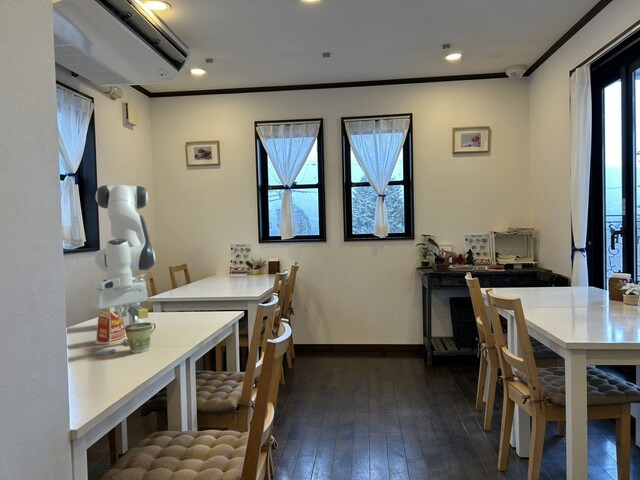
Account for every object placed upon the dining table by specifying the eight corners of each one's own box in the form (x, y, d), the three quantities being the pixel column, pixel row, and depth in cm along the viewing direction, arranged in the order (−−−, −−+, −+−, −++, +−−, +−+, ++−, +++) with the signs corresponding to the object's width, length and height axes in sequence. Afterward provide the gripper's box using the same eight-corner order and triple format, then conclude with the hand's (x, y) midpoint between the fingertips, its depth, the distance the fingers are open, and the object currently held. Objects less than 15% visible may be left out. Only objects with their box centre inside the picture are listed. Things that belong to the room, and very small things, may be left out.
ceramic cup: (138, 355, 171) (136, 329, 170) (120, 352, 175) (118, 327, 175) (165, 346, 182) (163, 321, 181) (148, 344, 187) (146, 319, 186)
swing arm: (126, 311, 191) (125, 304, 191) (137, 310, 193) (136, 302, 193) (138, 319, 174) (137, 310, 174) (149, 317, 176) (149, 309, 176)
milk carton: (95, 343, 192) (92, 296, 191) (112, 337, 201) (109, 292, 200) (112, 344, 189) (108, 296, 188) (128, 338, 198) (125, 293, 197)
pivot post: (123, 342, 192) (120, 312, 191) (142, 338, 196) (140, 309, 196) (127, 346, 185) (125, 315, 185) (147, 342, 190) (145, 312, 189)
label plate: (95, 354, 175) (95, 351, 175) (102, 351, 179) (102, 348, 179) (109, 354, 174) (109, 351, 174) (116, 351, 178) (115, 348, 178)
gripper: (141, 277, 186) (143, 310, 187) (89, 284, 170) (92, 321, 171) (149, 278, 182) (151, 312, 183) (97, 285, 166) (100, 322, 167)
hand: (122, 316), depth 177 cm, fingers closed
